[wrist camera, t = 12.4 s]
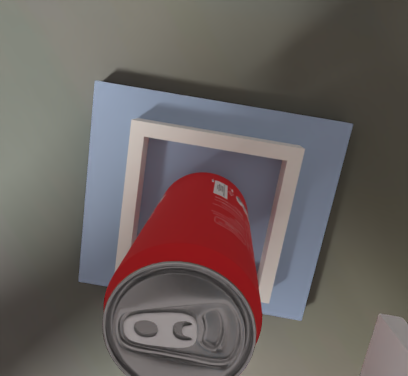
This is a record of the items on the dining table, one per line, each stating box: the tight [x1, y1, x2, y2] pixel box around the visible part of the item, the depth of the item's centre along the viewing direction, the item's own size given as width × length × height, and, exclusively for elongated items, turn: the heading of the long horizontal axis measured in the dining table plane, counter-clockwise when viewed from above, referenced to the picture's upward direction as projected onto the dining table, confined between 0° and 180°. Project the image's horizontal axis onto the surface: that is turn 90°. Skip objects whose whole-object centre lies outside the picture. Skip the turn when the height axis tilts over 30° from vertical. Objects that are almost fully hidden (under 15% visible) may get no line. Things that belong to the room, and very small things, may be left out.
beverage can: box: [102, 172, 262, 376], centre depth 17 cm, size 5×5×12 cm
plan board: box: [78, 81, 353, 321], centre depth 23 cm, size 15×13×3 cm
